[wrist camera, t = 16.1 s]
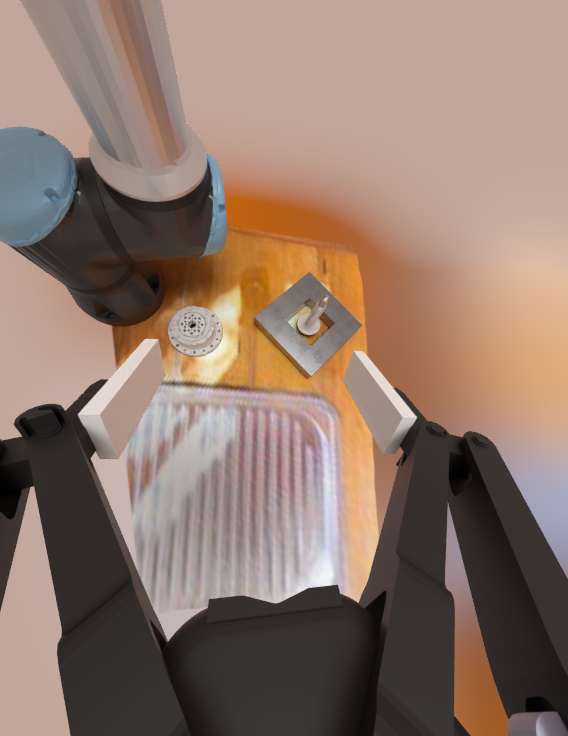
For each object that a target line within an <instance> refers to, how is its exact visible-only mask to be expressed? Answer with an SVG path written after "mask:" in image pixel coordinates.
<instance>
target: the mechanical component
mask: <svg viewBox="0 0 568 736" xmlns="http://www.w3.org/2000/svg"><path fill="white" fill-rule="evenodd" d="M193 324H196V326H195V327H193V328H192V329H191V328H190V326H191V325H193ZM219 332H220V333H219ZM168 334H169V339H170V341H171V343H172V345H173V346H174V347H175V348H176V349H177V350H178V351H180V352H181V353H183V354H185V355H188V356H193V357H195V356H203V355H206V354H209V353H211V352H212V351H214V350H215V349H216V348H217V346H218V345H219V344H220V341H221V339H222V325H221V323H220V321H219V318H218V317H217V316H216V315H215V314H214V313H213V312H212V311H210V310H208V309H206V308H203V307H195V306H192V307H189V306H187V307H185V308H183V309H181V310H178V311H177V313H176V314H175V315H174V317H173V318H172V319H171V321H170V324H169V328H168ZM212 346H213V347H212ZM195 352H196V353H195ZM194 353H195V354H194Z"/></svg>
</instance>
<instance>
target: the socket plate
mask: <svg viewBox="0 0 568 736" xmlns="http://www.w3.org/2000/svg"><path fill="white" fill-rule="evenodd" d="M325 295H327V296H329V301H328V303H327V306H326V309H325V310H324V312H323V313H322V314H321V316H320V317H319V318H320V319H321V320H322V321H323V322H324V323H325V324H326V325H327V326H328V327H329V328H330V329H329V330H328V331H327V332H325V333H324V334H323V335H322V336H321V337H320V338H319V339H318V340H317V341H316V342H315V343H314V344H313V345H312V346H310V345H309V344H308V343H307V342H306V341H305V340H304V339H303V338H302V337H301V336H300V335H299V334H298V333H297V332H296V331H295V330H294V329H293V328H292V327H291V325H290V324H289V323H288V322H287V321H288V320H289V319H290V318H291V317H292V316H294V315H295V314H296V313H297V312H298V311H299V310H300V309H302V308H303V307H304V306H305V305H307V306H308V307H309V308H310V309H311V310H313V308H314V307H315V305H316V303H317V302H318V301H320V300H322V299H323V298H324V296H325ZM254 324H255V325H256V326H257V327H258V328H259V329H260V330H261V331H262V332H263V333H264V334H265V335H266V336H267V337H268V338H269V339H270V340H271V341H272V343H273V344H274V345H275V346H276V347H277V348H278V349H279V350H280V351H281V352H282V353H283V354H284V355H285V356H286V357H287V358H288V359H289V360H290V361H291V362H292V363H293V364H294V365H295V366H296V367H297V369H298V370H299V371H300V372H301V373H302V374H303V375H304V376H305V377H306V378H309V377H311V376H312V375H313V374H314V373H315V372H316V371H317V370H318V369H319V368H320V367H321V366H322V365H323V364H324V363H325V362H326V361H327V360H328V359H329V358H330V357H331V356H332V355H333V354H334V353H335V352H336V351H337V350H338V349H339V348H340V347H341V346H342V345H343V344H344V343H345V342H346V341H347V340H348V339H349V338H350V337H351V336H352V335H353V334H354V333H355V332H356V331H357V330H358V329H359V328H360V327H361V326H362V325H361V324H360V323H359V322H358V321H357V320H356V319H355V318H354V317H353V316H352V315H351V314H350V313H349V312H348V311H347V310H346V308H345V307H344V306H343V305H342V304H341V303H340V302H339V301H338V300H337V299H336V298H335V297H334V296H333V295H332V294H331V293H330V292H329V291H328V290H327V289H326V288H325V287H324V286H323V285H322V284H321V283H320V282H319V281H318V280H317V279H316V278H315V277H314V276H313V275H312V274H311V273H310V272H309V273H308V274H307V275H305V276H304V277H303V278H302V279H300V280H299V281H298V282H297V283H296V284H294V285H293V286H292V287H291V288H289V289H288V290H287V291H286V292H285V293H283V294H282V295H281V296H280V297H278V298H277V299H276V300H275V301H274V302H272V303H271V304H270V305H269V306H267V307H266V308H265V309H264V310H263V311H261V312H260V313H259V314H258V315H257V316H255V317H254Z"/></svg>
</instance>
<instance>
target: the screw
mask: <svg viewBox="0 0 568 736" xmlns="http://www.w3.org/2000/svg"><path fill="white" fill-rule="evenodd" d="M328 301H329V296H327V295H325V296H324V298H323V299H322V300H320V301H318V302H317V303H316V305H315V307H314V308H313V310H312V311H311V313H304V314H302V315H301V316H300V317H299V319H298V321H297V325H298V328H299V330H300V331H301V332H302V333H303V334H306V335H313V334H315V333H317V332H318V330H319V328H320V321H319V319H318V318H319V317H320V316H321V314H322V313H323V312H324V310H325V309H326V306H327V303H328Z"/></svg>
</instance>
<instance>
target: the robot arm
mask: <svg viewBox="0 0 568 736" xmlns="http://www.w3.org/2000/svg"><path fill="white" fill-rule="evenodd" d="M21 2H22V4H23V6H24V8H25V10H26V11H27V13H28V15H29V17H30V19H31V21H32V22H33V24H34V26H35V28H36V30H37V31H38V33H39V35H40V37H41V39H42V41H43V43H44V44H45V46H46V48H47V50H48V52H49V53H50V55H51V57H52V59H53V61H54V62H55V64H56V66H57V68H58V70H59V72H60V74H61V76H62V77H63V79H64V81H65V83H66V85H67V87H68V88H69V90H70V92H71V94H72V96H73V97H74V99H75V101H76V103H77V105H78V107H79V109H80V110H81V112H82V114H83V116H84V118H85V119H86V121H87V123H88V125H89V127H90V129H91V131H92V132H93V133H92V135H91V137H90V141H89V155H90V157H89V158H73V156H72V154H71V152H70V151H69V150H68V149H67V148H66V147H65V146H64V145H62V144H61V143H60V142H59V141H58V140H57V139H55V138H54V137H53V136H51V135H49V134H45V133H44V132H43V131H40V130H38V129H34V128H28V127H11V128H5V129H1V130H0V241H2V242H4V243H5V244H8V245H9V246H10V247H12V248H13V249H14V250H16V251H17V252H19V253H20V254H22V255H23V256H25V257H26V258H27V259H29V260H30V261H32V262H33V263H34V264H36V265H37V266H39V267H40V268H41V269H43V270H45V271H46V272H47V273H49V274H50V275H52V276H53V277H54V278H56V279H57V280H59V281H60V282H62V283H63V284H64V285H66V287H67V289H68V290H69V292H70V294H71V295H72V297H73V298H74V300H75V302H76V303H77V305H78V306H79V307H80V308H81V309H82V310H83V311H84V312H86V313H87V314H89V315H90V316H91V317H93V318H95V319H96V320H98V321H100V322H102V323H105V324H109V325H114V326H127V325H133V324H136V323H139V322H142V321H144V320H145V319H147V318H149V317H150V316H151V315H153V314H154V313H155V312H156V311H157V309H158V308H159V307H160V305H161V303H162V301H163V298H164V295H165V284H164V280H163V278H162V276H161V274H160V272H159V270H158V269H157V267H156V266H155V265H154V263H153V262H160V261H170V260H180V259H191V258H202V257H204V256H207V255H213V254H218V253H220V252H221V251H222V250H223V248H224V246H225V243H226V237H227V215H226V211H225V193H224V186H223V180H222V175H221V171H220V168H219V164H218V162H217V160H216V158H215V157H214V156H212V155H209V154H207V153H206V151H205V147H204V145H203V143H202V141H201V139H200V137H199V136H198V135H197V133H196V132H195V131H194V130H193V129H192V128H191V127H190V126H189V125H188V124H186V121H185V116H184V111H183V106H182V101H181V96H180V91H179V86H178V81H177V76H176V71H175V66H174V61H173V56H172V51H171V47H170V41H169V36H168V31H167V27H166V22H165V17H164V12H163V7H162V2H161V0H21ZM164 377H165V371H164V366H163V361H162V355H161V350H160V345H159V340H158V339H145V340H144V341H143V342H142V343H141V344H140V345H139V346H138V348H137V349H136V350H135V351H134V352H133V353H132V354H131V355H130V357H129V358H128V359H127V360H126V361H125V362H124V363H123V364H122V365H121V367H120V368H119V369H118V370H117V371H116V372H115V373H114V375H113V376H112V377H111V378H110V379H109V380H103V379H101V380H99V381H97V382H96V383H94V384H92V385H90V386H89V387H88V389H86V390H85V392H84V394H82V395H81V396H80V397H79V398H78V400H76V401H75V402H74V403H73V404H72V405H71V406H70V407H69V408H68V409H67V410H66V411H65V410H64V409H63V407H62V406H61V405H57V404H46V405H41V406H37V407H34V408H32V409H29V410H27V411H25V412H24V413H22V414H21V415H20V416H18V417H17V418H16V420H15V422H14V425H15V427H16V428H17V429H18V431H19V432H20V434H21V435H22V436H23V437H18V438H13V439H8V440H3V441H1V440H0V610H1V606H2V602H3V598H4V594H5V590H6V586H7V581H8V577H9V573H10V568H11V565H12V561H13V556H14V552H15V548H16V544H17V540H18V536H19V532H20V528H21V524H22V519H23V515H24V511H25V507H26V503H27V498H28V494H29V490H30V487H33V486H34V487H35V492H36V498H37V503H38V508H39V513H40V518H41V524H42V529H43V534H44V539H45V544H46V549H47V554H48V559H49V564H50V570H51V575H52V580H53V585H54V590H55V595H56V601H57V606H58V611H59V616H60V621H61V626H62V637H61V639H60V641H59V643H58V649H57V656H58V665H59V671H60V676H61V682H62V688H63V694H64V700H65V706H66V711H67V717H68V723H69V728H70V734H71V736H470V734H469V733H468V732H467V731H466V730H465V728H464V727H463V726H462V725H461V723H460V722H459V721H458V720H457V719H456V717H455V716H454V629H455V615H454V614H455V608H454V599H453V596H452V593H451V592H450V591H448V590H447V589H446V586H445V559H446V557H445V556H446V532H447V531H446V530H447V504H448V503H449V507H450V511H451V515H452V519H453V523H454V527H455V531H456V535H457V539H458V543H459V547H460V550H461V554H462V559H463V563H464V567H465V570H466V574H467V578H468V582H469V587H470V590H471V594H472V598H473V602H474V606H475V610H476V614H477V618H478V622H479V626H480V630H481V634H482V638H483V642H484V646H485V650H486V654H487V657H488V661H489V664H490V668H491V671H492V674H493V678H494V681H495V684H496V687H497V689H498V692H499V695H500V698H501V701H502V704H503V706H504V709H505V712H506V714H507V717H508V719H509V720H508V727H507V733H508V736H568V579H567V577H566V575H565V573H564V571H563V570H562V568H561V566H560V564H559V562H558V561H557V559H556V557H555V555H554V553H553V551H552V549H551V547H550V546H549V544H548V542H547V540H546V538H545V537H544V535H543V533H542V531H541V529H540V527H539V526H538V524H537V522H536V520H535V518H534V516H533V514H532V513H531V511H530V509H529V507H528V505H527V503H526V502H525V500H524V498H523V496H522V494H521V492H520V490H519V489H518V487H517V485H516V483H515V482H514V479H513V478H512V476H511V474H510V472H509V470H508V468H507V466H506V465H505V463H504V461H503V459H502V457H501V456H500V454H499V452H498V450H497V448H496V446H495V445H494V444H493V443H492V442H491V441H490V440H489V439H488V438H487V437H485V436H483V435H481V434H479V433H476V432H471V431H469V432H466V433H465V434H464V436H463V437H458V436H454V435H450V434H449V433H448V432H447V431H446V430H445V429H444V428H443V427H442V426H440V425H438V424H437V423H433V422H431V421H427V420H426V419H425V418H424V416H423V415H422V414H421V413H420V412H419V410H418V409H417V408H416V407H415V406H414V405H413V403H412V402H411V401H410V400H409V399H408V398H407V396H406V395H405V394H404V393H403V392H401V391H400V390H399V389H397V388H393V387H392V386H391V385H390V384H389V382H388V381H387V380H386V379H385V378H384V376H383V375H382V374H381V373H380V371H379V370H378V369H377V368H376V366H375V365H374V364H373V363H372V361H371V360H370V359H369V358H368V357H367V355H366V354H365V353H364V352H363V351H353V353H352V356H351V360H350V363H349V366H348V369H347V372H346V375H345V378H344V381H343V382H344V383H345V385H346V387H347V389H348V391H349V393H350V394H351V396H352V398H353V400H354V402H355V404H356V405H357V407H358V409H359V411H360V413H361V415H362V417H363V418H364V420H365V422H366V424H367V426H368V428H369V429H370V431H371V433H372V435H373V437H374V438H375V440H376V442H377V444H378V446H379V448H380V450H381V451H382V453H383V454H396V452H397V450H398V449H399V447H401V448H402V450H403V451H404V453H403V454H402V456H401V457H400V459H399V461H398V462H397V464H396V465H397V466H398V465H399V466H398V470H397V474H396V478H395V482H394V485H393V489H392V493H391V497H390V500H389V504H388V508H387V512H386V515H385V519H384V523H383V527H382V530H381V535H380V538H379V542H378V545H377V549H376V553H375V557H374V560H373V564H372V568H371V572H370V575H369V579H368V582H367V585H366V587H365V589H364V591H363V593H362V595H361V598H360V601H359V603H358V602H356V601H354V600H353V599H351V598H349V597H347V596H345V595H342V594H340V592H339V588H338V585H332V586H324V587H315V588H308V589H306V590H304V591H302V592H300V593H298V594H296V595H294V596H292V597H290V598H288V599H286V600H284V601H282V602H280V603H277V604H275V603H270V602H266V601H262V600H258V599H254V598H251V597H247V596H234V597H225V598H216V599H209V604H208V608H207V609H205V610H203V611H201V612H199V613H198V614H197V615H195V616H193V617H192V618H191V619H189V620H188V621H187V622H186V623H185V624H183V625H182V626H181V628H180V629H179V630H178V631H177V632H176V633H175V634H174V635H173V636H172V638H171V639H170V640H169V641H167V639H166V636H165V634H164V632H163V629H162V627H161V624H160V622H159V620H158V618H157V616H156V614H155V612H154V610H153V607H152V605H151V603H150V601H149V598H148V596H147V593H146V591H145V589H144V586H143V584H142V581H141V579H140V576H139V574H138V572H137V569H136V567H135V564H134V562H133V560H132V557H131V555H130V552H129V550H128V547H127V545H126V543H125V540H124V538H123V535H122V533H121V531H120V528H119V526H118V523H117V521H116V519H115V516H114V514H113V511H112V509H111V506H110V504H109V502H108V499H107V497H106V494H105V492H104V490H103V487H102V485H101V482H100V480H99V477H98V475H97V473H96V471H95V468H94V466H93V463H92V461H91V459H90V458H91V457H92V455H93V454H94V452H95V451H96V452H97V454H98V456H99V458H100V459H118V458H119V457H120V455H121V453H122V451H123V450H124V448H125V446H126V444H127V443H128V441H129V439H130V437H131V435H132V434H133V432H134V430H135V428H136V427H137V425H138V423H139V421H140V419H141V418H142V416H143V414H144V412H145V410H146V409H147V407H148V405H149V403H150V402H151V400H152V398H153V396H154V394H155V393H156V391H157V389H158V387H159V386H160V384H161V382H162V380H163V378H164Z"/></svg>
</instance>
